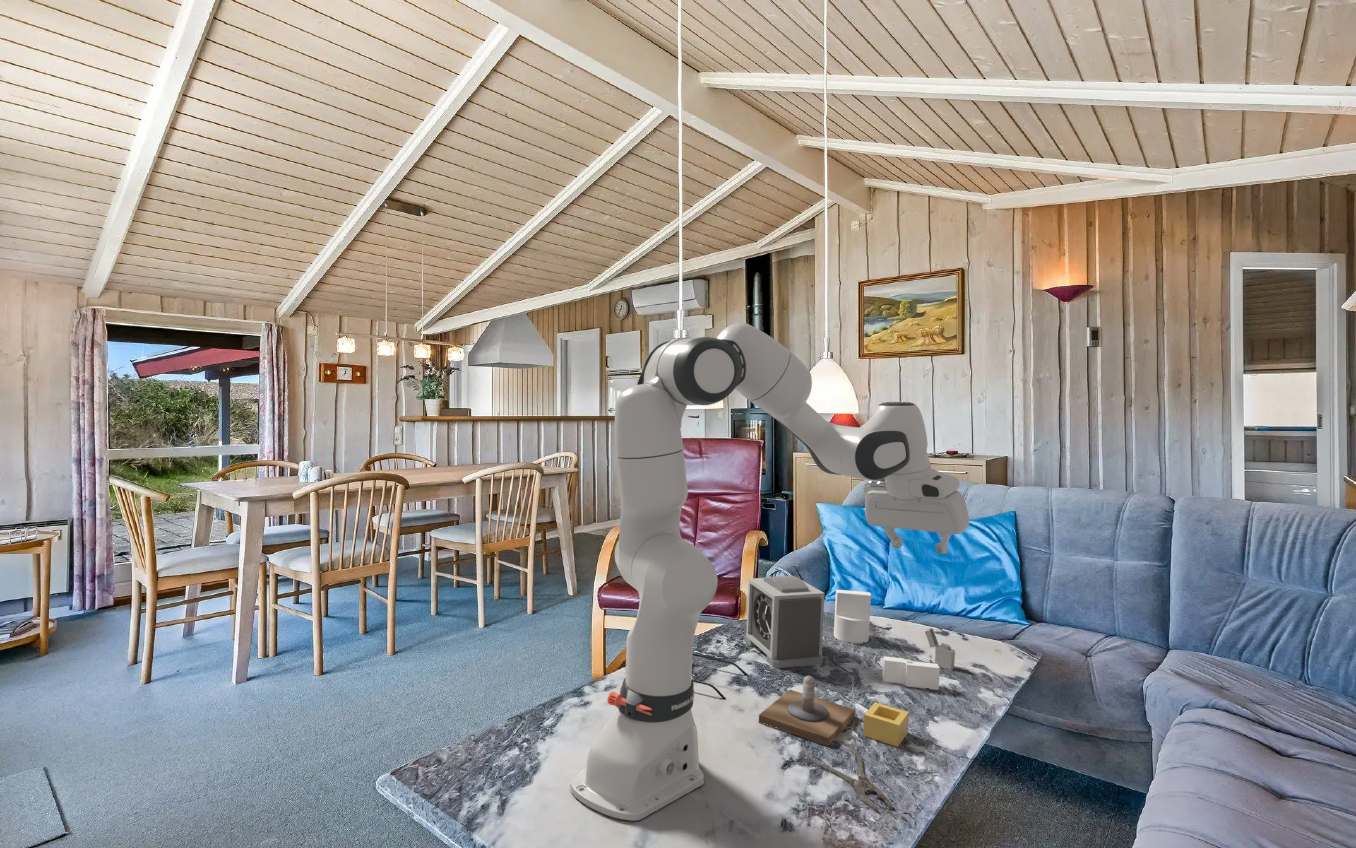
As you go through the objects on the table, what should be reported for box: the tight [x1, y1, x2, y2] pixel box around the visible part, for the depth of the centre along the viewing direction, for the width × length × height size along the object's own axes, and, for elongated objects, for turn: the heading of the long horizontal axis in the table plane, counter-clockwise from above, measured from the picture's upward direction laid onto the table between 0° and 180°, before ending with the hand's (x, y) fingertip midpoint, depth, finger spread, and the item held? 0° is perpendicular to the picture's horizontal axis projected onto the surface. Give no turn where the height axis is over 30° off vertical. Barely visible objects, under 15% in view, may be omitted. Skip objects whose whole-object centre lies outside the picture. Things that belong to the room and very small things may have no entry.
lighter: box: [924, 627, 956, 670], centre depth 158 cm, size 7×2×8 cm, turn 42°
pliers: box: [802, 741, 894, 813], centre depth 110 cm, size 10×1×20 cm
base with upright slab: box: [833, 589, 872, 644], centre depth 174 cm, size 9×9×12 cm
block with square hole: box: [862, 702, 910, 748], centre depth 123 cm, size 6×6×4 cm
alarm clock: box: [744, 575, 825, 669], centre depth 162 cm, size 18×13×18 cm
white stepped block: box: [881, 656, 941, 691], centre depth 147 cm, size 15×11×6 cm
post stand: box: [758, 675, 856, 747], centre depth 128 cm, size 14×14×9 cm
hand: (919, 549), depth 129 cm, fingers open, 8 cm apart
